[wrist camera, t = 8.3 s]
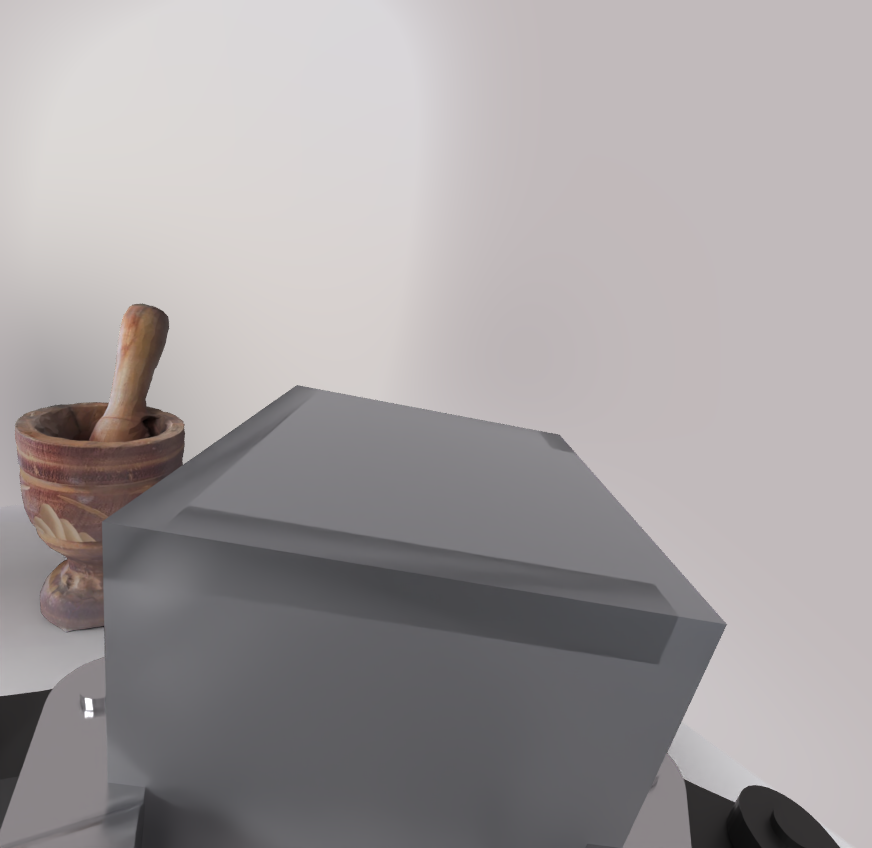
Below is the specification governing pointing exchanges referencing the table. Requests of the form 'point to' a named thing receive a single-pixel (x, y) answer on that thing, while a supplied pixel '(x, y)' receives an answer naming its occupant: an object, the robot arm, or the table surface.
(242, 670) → the cover
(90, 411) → the mortar and pestle
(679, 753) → the table surface
